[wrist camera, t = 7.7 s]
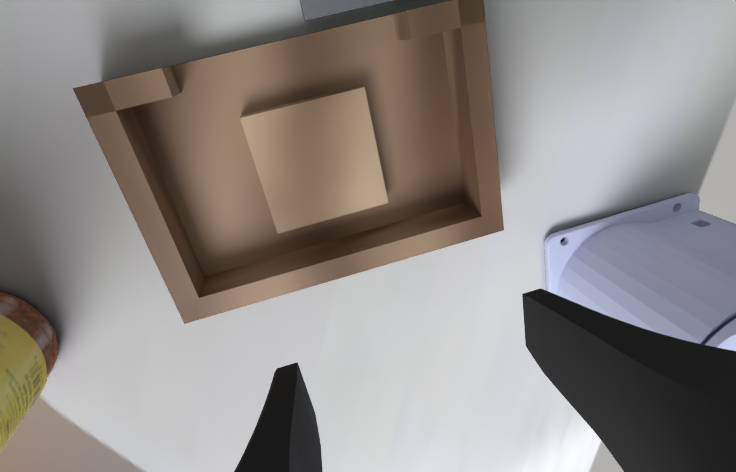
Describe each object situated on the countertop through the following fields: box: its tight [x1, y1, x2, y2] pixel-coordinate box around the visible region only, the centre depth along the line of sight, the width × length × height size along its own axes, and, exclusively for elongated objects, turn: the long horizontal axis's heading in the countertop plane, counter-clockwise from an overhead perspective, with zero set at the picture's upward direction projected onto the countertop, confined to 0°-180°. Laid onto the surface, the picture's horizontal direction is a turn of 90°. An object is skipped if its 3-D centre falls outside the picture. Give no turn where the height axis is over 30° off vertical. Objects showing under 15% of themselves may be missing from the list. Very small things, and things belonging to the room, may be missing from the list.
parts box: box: [73, 0, 504, 324], centre depth 19 cm, size 15×10×3 cm, turn 102°
